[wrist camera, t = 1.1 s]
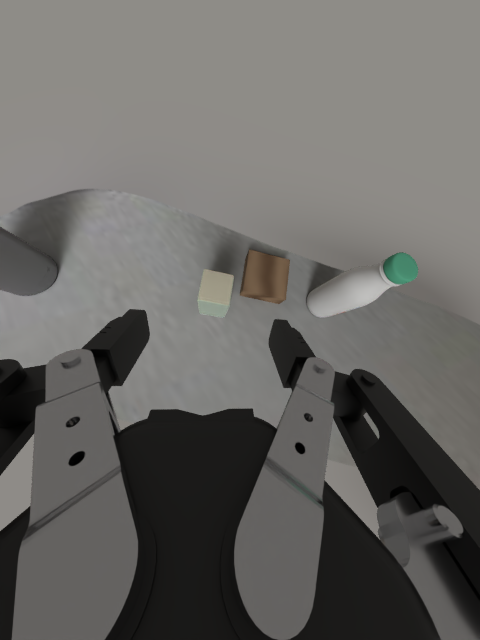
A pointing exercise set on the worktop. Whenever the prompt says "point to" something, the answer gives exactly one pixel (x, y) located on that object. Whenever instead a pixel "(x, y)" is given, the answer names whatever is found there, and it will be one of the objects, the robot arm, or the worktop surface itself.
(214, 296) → the tea tin
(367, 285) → the milk bottle
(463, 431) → the worktop surface
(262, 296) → the walnut box
